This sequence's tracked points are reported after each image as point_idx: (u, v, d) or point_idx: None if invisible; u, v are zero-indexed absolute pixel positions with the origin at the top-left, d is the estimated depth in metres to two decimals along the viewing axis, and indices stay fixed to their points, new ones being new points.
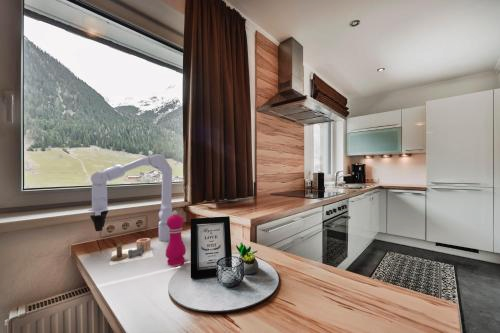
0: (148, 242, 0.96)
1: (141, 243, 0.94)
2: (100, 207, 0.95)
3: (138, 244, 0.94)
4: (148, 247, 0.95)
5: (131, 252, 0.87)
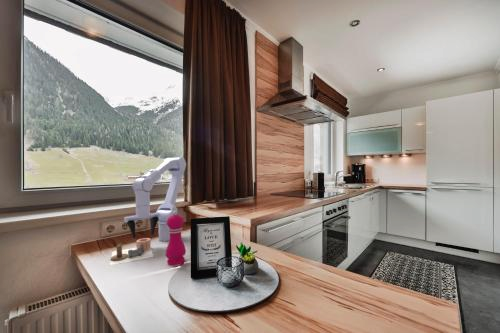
0: (148, 242, 0.96)
1: (141, 243, 0.94)
2: (136, 214, 0.94)
3: (138, 244, 0.94)
4: (148, 247, 0.95)
5: (131, 252, 0.87)
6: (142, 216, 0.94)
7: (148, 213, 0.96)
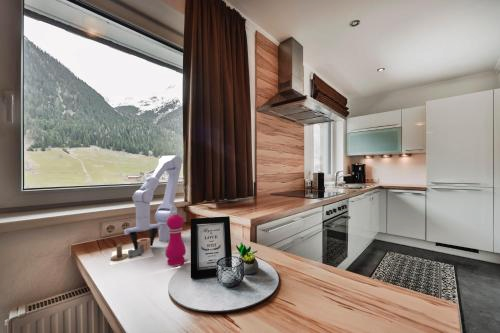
0: (148, 242, 0.96)
1: (141, 243, 0.94)
2: (136, 226, 0.94)
3: (138, 244, 0.94)
4: (148, 247, 0.95)
5: (131, 252, 0.87)
6: (142, 228, 0.94)
7: (148, 225, 0.96)
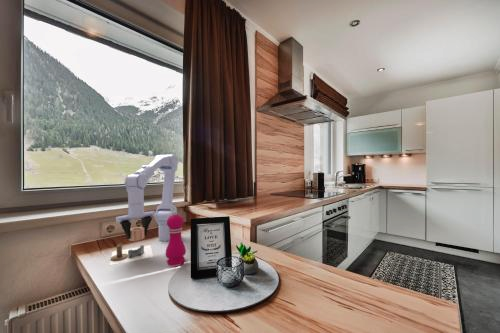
0: (142, 231, 0.88)
1: (135, 232, 0.86)
2: (129, 214, 0.86)
3: (131, 233, 0.86)
4: (142, 236, 0.88)
5: (131, 252, 0.87)
6: (136, 215, 0.86)
7: (142, 212, 0.89)
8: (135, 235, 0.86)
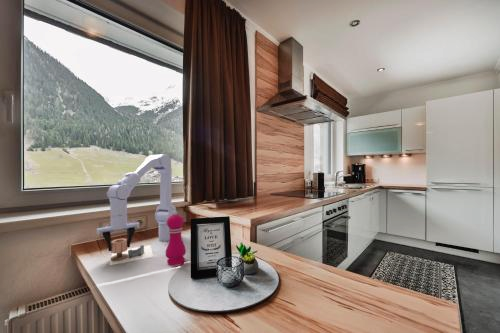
0: (124, 243, 0.86)
1: (115, 244, 0.84)
2: (111, 225, 0.85)
3: (112, 245, 0.84)
4: (124, 249, 0.86)
5: (131, 252, 0.87)
6: (117, 227, 0.84)
7: (124, 224, 0.86)
8: (115, 248, 0.84)
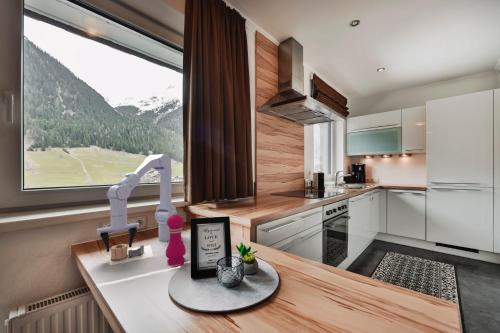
0: (124, 249, 0.86)
1: (116, 250, 0.84)
2: (111, 226, 0.85)
3: (112, 251, 0.84)
4: (124, 255, 0.86)
5: (131, 252, 0.87)
6: (117, 228, 0.84)
7: (124, 224, 0.86)
8: (116, 254, 0.84)
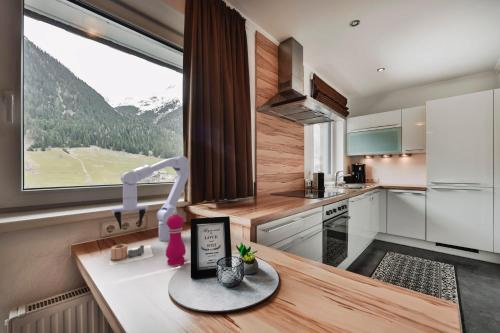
0: (124, 249, 0.86)
1: (116, 250, 0.84)
2: (123, 206, 0.98)
3: (112, 251, 0.84)
4: (124, 255, 0.86)
5: (131, 252, 0.87)
6: (127, 208, 0.97)
7: (134, 205, 0.98)
8: (116, 254, 0.84)
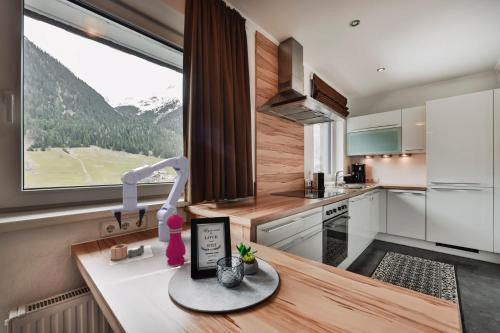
0: (124, 249, 0.86)
1: (116, 250, 0.84)
2: (123, 206, 0.98)
3: (112, 251, 0.84)
4: (124, 255, 0.86)
5: (131, 252, 0.87)
6: (127, 208, 0.97)
7: (134, 205, 0.98)
8: (116, 254, 0.84)
